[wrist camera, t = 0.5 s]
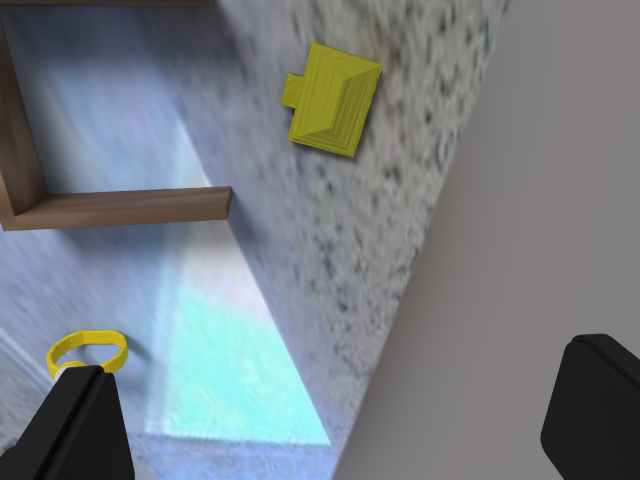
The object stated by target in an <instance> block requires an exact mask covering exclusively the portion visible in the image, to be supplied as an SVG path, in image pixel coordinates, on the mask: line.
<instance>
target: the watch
mask: <svg viewBox="0 0 640 480" xmlns="http://www.w3.org/2000/svg"><path fill="white" fill-rule="evenodd" d="M83 344H116V345H117V346H119V347H120V348H121V349H120V350H119V352H118V354H117V355H116V356H114V357H113V358H111V359H110V360H108V361H107V362H105V363H103V364H100V366H102V367H103V368H104V371H105V373H107V372H111V373H113V374H114V373H115V372H116V371H118V370H119V369H121V368H122V367H123V365H124V364H125V362H126V360H127V358H128V347H127V342H126V338H125V336H124V335H123V334H121V333H120V332H118V331H116V330H88V331H85V330H81V331H78V332H76V333H73V334H70V335H67V336H66V337H64V338H62V339H61V340H60V341H58V342H57V343H55V344H54V345H53V346H52V347H51V349H50V351H49V352H48V354H47V357H46V358H47V363H48V368H49V372H50V375H51V378H53V379H54V380H55V382H57V380H58V379H59V377H60V376H61V374H62V373H63V371H64V370H65V369H66V368H68V367H78V366H88V365H87V364H85V363H82V362H79V361H70V362H66V363H64V364H63V365H62V366H58V365H55V364H56V362H57V360H58V359H59V357H61V356H62V355H63V354H65V353H66V352H67V351H69V350H70V349H73V348H76V347H78V346H81V345H83Z"/></svg>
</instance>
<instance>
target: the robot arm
mask: <svg viewBox="0 0 640 480" xmlns="http://www.w3.org/2000/svg"><path fill="white" fill-rule="evenodd" d="M540 438H541V444H542V448H543V450H544V452H545V453H546V455H547V456H548V458H549V459H550V460H551V462H552V463H553V465H554V466H555V468H556V469H557V470H558V472H559V473H560V475H561V476H562V477H563V479H564V480H640V359H638V358H637V357H636V356H635V355H633V354H632V353H631V352H630V351H628V350H627V349H626V348H624V347H623V346H622V345H621V344H619V343H618V342H617V341H616V340H614V339H613V338H612V337H610V336H609V335H607V334H586V335H578V336H575V337H574V338H573V339H572V341H571V343H568V345H566V348H565V350H564V354H563V358H562V361H561V365H560V368H559V372H558V375H557V379H556V382H555V386H554V390H553V393H552V396H551V400H550V403H549V407H548V411H547V414H546V417H545V421H544V425H543V428H542V432H541V437H540ZM0 480H135V472H134V467H133V462H132V457H131V453H130V448H129V443H128V439H127V434H126V429H125V424H124V420H123V415H122V410H121V406H120V401H119V396H118V391H117V387H116V382H115V378H114V375H113V373H111V372H107V373H105V371H104V368H103V367H102V366H100V365H94V366H78V367H68V368H66V369H65V370H64V371H63V373H62V374H61V376H60V377H59V379H58V380H57V382H56V383H55V385H54V386H53V388H52V389H51V391H50V393H49V394H48V396H47V397H46V399H45V400H44V402H43V403H42V405H41V406H40V408H39V410H38V411H37V413H36V414H35V416H34V417H33V419H32V420H31V422H30V423H29V425H28V426H27V428H26V430H25V431H24V433H23V434H22V436H21V437H20V439H19V440H18V442H17V443H16V445H15V446H13V447H11V448H9V449H8V450H6V451H5V452H4V453H3V454H2V456H1V457H0Z"/></svg>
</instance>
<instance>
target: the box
mask: <svg viewBox="0 0 640 480" xmlns="http://www.w3.org/2000/svg"><path fill="white" fill-rule="evenodd" d="M83 5H213V4H212V0H0V6H83ZM231 199H232V196H231V186H227V187H205V188H183V189H161V190H139V191H117V192H95V193H73V194H51V195H49V194H48V191H47V187H46V183H45V180H44V176H43V173H42V169H41V165H40V162H39V158H38V154H37V151H36V147H35V144H34V140H33V136H32V133H31V129H30V126H29V122H28V118H27V115H26V111H25V108H24V104H23V100H22V97H21V93H20V90H19V86H18V82H17V79H16V75H15V71H14V68H13V64H12V61H11V57H10V53H9V50H8V46H7V43H6V39H5V35H4V32H3V28H2V25H1V21H0V222H1V225H2V228H3V231H18V230H37V229H56V228H75V227H93V226H112V225H131V224H150V223H168V222H187V221H206V220H225V219H227V217H228V213H229V208H230V203H231Z"/></svg>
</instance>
